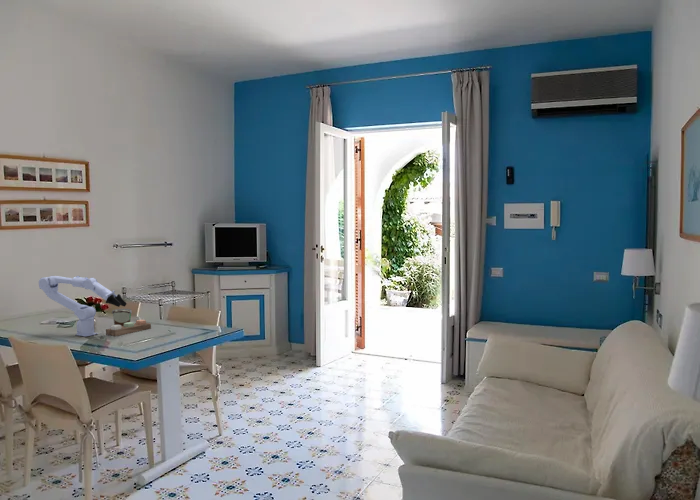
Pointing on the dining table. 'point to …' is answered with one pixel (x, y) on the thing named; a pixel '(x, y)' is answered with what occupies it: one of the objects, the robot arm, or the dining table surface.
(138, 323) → the terracotta button
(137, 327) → the button panel
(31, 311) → the dining table surface
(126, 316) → the food container
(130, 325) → the sage button
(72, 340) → the dining table surface
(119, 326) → the cream button
